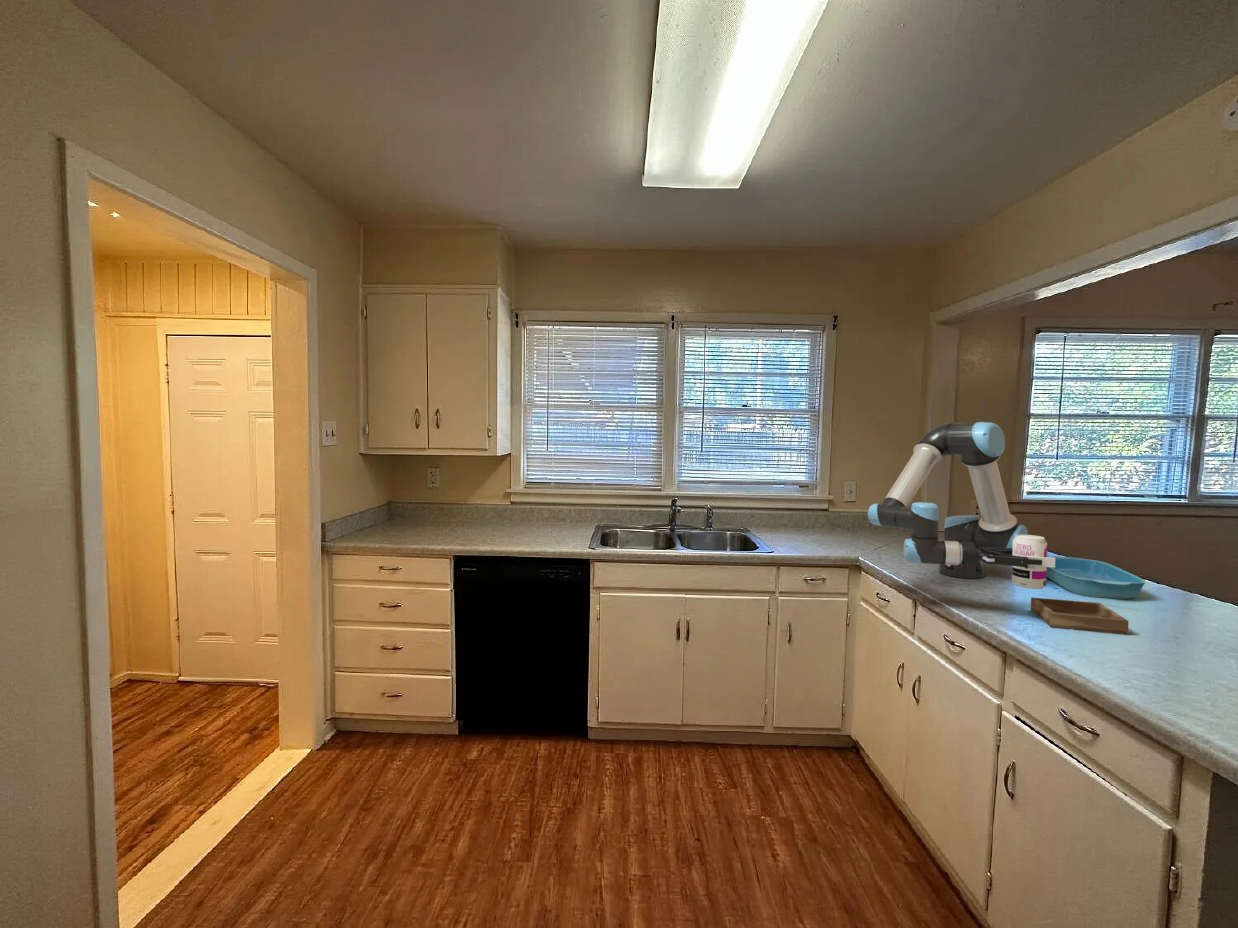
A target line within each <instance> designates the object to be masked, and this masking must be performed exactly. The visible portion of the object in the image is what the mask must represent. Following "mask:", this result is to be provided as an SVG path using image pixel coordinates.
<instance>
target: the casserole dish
mask: <svg viewBox="0 0 1238 928" xmlns="http://www.w3.org/2000/svg"><path fill="white" fill-rule="evenodd" d="M1048 557H1049V558H1055V568H1054V567H1047V575H1046V578H1048V579H1049V580H1050V581H1052V582H1054V583H1055V584H1057V585H1059V586H1060V587H1061V586H1062V588H1063V589H1065V590H1067V591H1068V592H1070V593H1073V594H1074V593H1075V595H1077V596H1083V597H1089V598H1090V597H1091V598H1104V599H1119V600H1130V599H1133V598H1135V597H1137V596H1138V595H1139V593H1140V592H1141V590H1142V588H1143V586H1144V585H1145V584H1146V580H1144V578H1143V579H1142V578H1141V577H1139V576H1137V575H1135V574H1133V573H1130V572H1128V571H1126V570H1124V569H1123V568H1120V567H1117V566H1116V565H1114V564H1110V563H1108V562H1105V561H1101V560H1094V559H1087V558H1081V557H1071V556H1062V555H1061V556H1057V555H1056V556H1055V555H1054V556H1048Z"/></svg>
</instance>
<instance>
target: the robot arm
mask: <svg viewBox="0 0 1238 928" xmlns="http://www.w3.org/2000/svg"><path fill="white" fill-rule="evenodd" d="M1005 443H1006V437H1005V434H1004V432H1003V430H1002V428H1001V427H1000V426H999V425H998V424H996V423H994V422H987V421H986V422H985V421H978V422H946V423H942V424H940V425H938V426H935V427H934V428H932V429H931V430H928V431H927V432H926V433H925V434H924V435H923V436H922V437H920V439H919V440H918V441H917V442H916V444H915V445H914V447H913V448H912V452H913V454H912V455H911V457H910V459H909V460H908V461H907V463H906V465H905V466H904V468H903V470H902V471H901V473H900V474H899V476H898V477H897V479H896V481H894V483H893V485H892V486H891V488H890V489H889V491H888V493H887V494H886V496H885V498H883V500H882V502H881V503H879V502H878V503H873V504H871V505H870V506H869V508H868V509H867V519H868V521H869V522H870V523H871V524H872V525H875V526H879V527H882V528H883V527H885V528H892V529H898V530H899V529H900V530H906V531H910V532H911V535H910V538H906V539H904V542H903V557H904V559H905V561H907V562H910V563H916V564H917V563H918V564H932V565H938V572H939V573H940V574H941V575H945V576H949V577H953V578H959V579H969V580H970V579H971V580H972V579H974V580H975V579H983V578H984V577H985V569H984V567H983V564H982V563H985V564H987V565H998V566H1000V565H1001V566H1008V567H1009V566H1010V567H1012V566H1018V567H1025V568H1028V566H1039V567H1054V568H1055V558H1049V557H1050V556H1047V557H1032V556H1027V557H1021V556H1014V555H1012V548H1013V539H1014V538H1015V535H1029V534H1028V533H1029V532H1028V528H1027V526H1026V525H1023V524H1019V523H1018V519H1017V517H1016V516H1015V515H1013V514H1011V513H1010V508H1009V505H1008V500H1007V497H1006V494H1005V489H1004V485H1003V481H1002V478H1001V477H1002V476H1001V474H1000V470H999V466H998V460H999V459H1000V458H1001V455H1002V454H1003V453H1004V452H1005V449H1006V444H1005ZM946 456H958V457H959V459H960V462H961V464H962V465H964V466H965V467H967V469H968V472H969V473H968V474H969V477H970V480H971V483H972V487H973V491H974V495H975V498H976V502H977V504H978V505H977V506H978V510H979V512H980V515H981V517H980V516H979V515H974V514H973V515H972V514H971V515H969V514H968V515H967V514H965V515H964V514H963V515H951V516H948V517H946V518H945V520H944V526H943V530H944V531H943V533H944V534H943V535H944V537H943V538H944V539H943V540H939V522H940V521H939V520H940V517H939V507H938V504H935V503H932V502H919V501H917V502H913V503H912V504H911V502H912V500H913V498H914V497H915V496H916V494H917V492H918V491H919V489H920V488H921V487H922V485H923V484H924V481H925V480H926V478H928V477H927V476H928V475H929V473H930V472H931V470H932V469H933V467H934V465H935V464H937V463H940V462H941V460H942V458H944V457H946ZM910 504H911V507H910Z"/></svg>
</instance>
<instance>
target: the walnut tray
mask: <svg viewBox="0 0 1238 928" xmlns="http://www.w3.org/2000/svg"><path fill="white" fill-rule="evenodd" d="M1030 611H1031V612H1033V613H1034V614H1035V615H1036V616H1037V617H1038V618H1039V619H1041V621H1043V622H1044V623H1045V624H1046V625H1047V626H1049V627H1050V628H1051V629H1062V630H1070V629H1073V631H1082V632H1091V633H1092V632H1093V633H1101V634H1102V633H1103V634H1114V635H1124V636H1128V635H1129V620H1128V619H1126V618H1125V617H1123V616H1122V615H1120V614H1119V613H1117V612H1115V611H1114V610H1112V609H1110V608H1109V607H1107V606H1106V605H1104V604H1102V603H1101V602H1093V601H1092V602H1091V601H1082V600H1081V601H1080V600H1079V601H1078V600H1069V599H1068V600H1067V599H1054V598H1041V597H1030Z"/></svg>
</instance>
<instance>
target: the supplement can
mask: <svg viewBox="0 0 1238 928" xmlns="http://www.w3.org/2000/svg"><path fill="white" fill-rule="evenodd" d="M1012 555H1014V556H1021V557H1027V556H1032V557H1048V542H1047V541H1046V538H1045V537H1044V536H1040V535H1032V534H1028V535H1015V538H1014V539H1013V548H1012ZM1046 575H1047V567H1039V566H1028V568H1025V567H1018V566H1011V582H1012V583H1013V585H1015V586H1016V587H1019V588H1024V589H1030V590H1042V589H1044V588H1045V587H1046V586H1047V576H1046Z"/></svg>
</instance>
